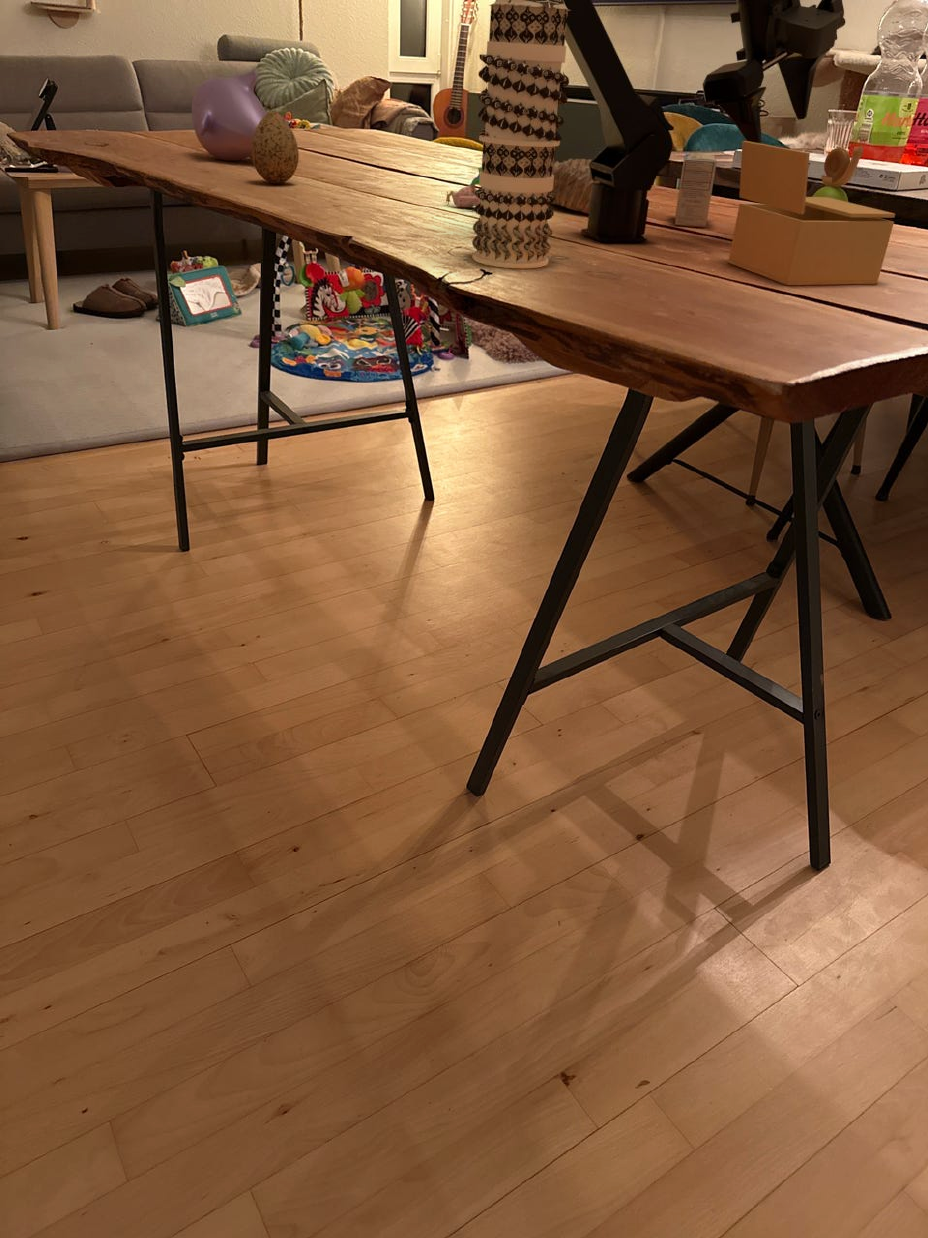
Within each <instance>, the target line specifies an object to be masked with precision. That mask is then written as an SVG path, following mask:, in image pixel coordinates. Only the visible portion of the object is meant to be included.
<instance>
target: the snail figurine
mask: <svg viewBox="0 0 928 1238" xmlns="http://www.w3.org/2000/svg"><path fill="white" fill-rule="evenodd" d="M859 142H860V144H859V145H858V146H856V147H854V148H853V150H852V157H850V154H849V151H848V150H847V149H846V148H844V147H835V148H833V149H832V150H830V152H829V153H828V154H827V155H826V158H825V159H824V165H823V170H824V173H825V175H824V174H822V175H821V182H822V184H823V185H824V186H823V187H821V188H819V189H818V190H816V191H815V193H813V194H812V196H811V197H828V198H833V199H837V200H841V201H845V202H849V199H848V196H847V193H846V192H845V190H844V189H842V188H841V187H843V186H844V185H847V183H849V182H850V180H851V179H852V177H853V176H854V174H855V171H856V169H857V167H858V165H859V162H860V159H861V158H862V155H863V153H864V147H865V143H867V142H868V138H867V137H860V138H859ZM862 143H863V145H862Z"/></svg>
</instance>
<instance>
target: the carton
mask: <svg viewBox="0 0 928 1238" xmlns="http://www.w3.org/2000/svg"><path fill="white" fill-rule="evenodd" d="M895 217H896V213H894V212H890V211H887V210H882V209H878V208H874V207H870V206H866V205H862V204H858V203H857V204H856V203H853V202H849V201H848V202H845V201H841V200H837V199H833V198H828V197H812V196H806V201H805V212H804V214H798V213H795V212H791V211H787V210H784V209H780V208H776V207H773V206H769V205H766V204H762V203H739V205H738V209H737V215H736V221H735V225H734V231H733V235H732V242H731V246H730V251H729V255H728V264H731V265H733V266H736V267H739V268H741V269H744V270H747V271H749V272H752V273H754V274H757V275H759V276H762V277H765V278H768V279H769V280H772V281H775V282H777V283H780V284H782V285H785V286H816V285H817V286H819V285H821V286H823V285H877V284H878V282H879V279H880V275H881V271H882V267H883V263H884V260H885V256H886V254H887V249H888V245H889V242H890V239H891V236H892V231H893V227H894V224H895V221H893V220H888V218H889V219H890V218H891V219H893V218H895ZM884 218H885V219H884ZM886 218H887V219H886Z"/></svg>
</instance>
